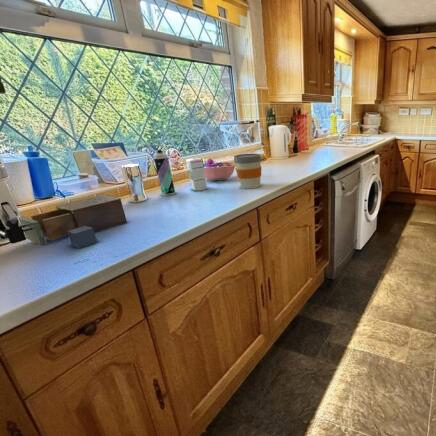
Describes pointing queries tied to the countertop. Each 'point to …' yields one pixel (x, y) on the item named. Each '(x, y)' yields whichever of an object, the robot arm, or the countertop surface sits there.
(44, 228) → the drawer
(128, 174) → the beer glass
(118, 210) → the cabinet
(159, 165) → the spray can
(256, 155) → the reusable coffee cup
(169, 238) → the countertop surface
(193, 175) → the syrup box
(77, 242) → the block
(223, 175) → the cell model
